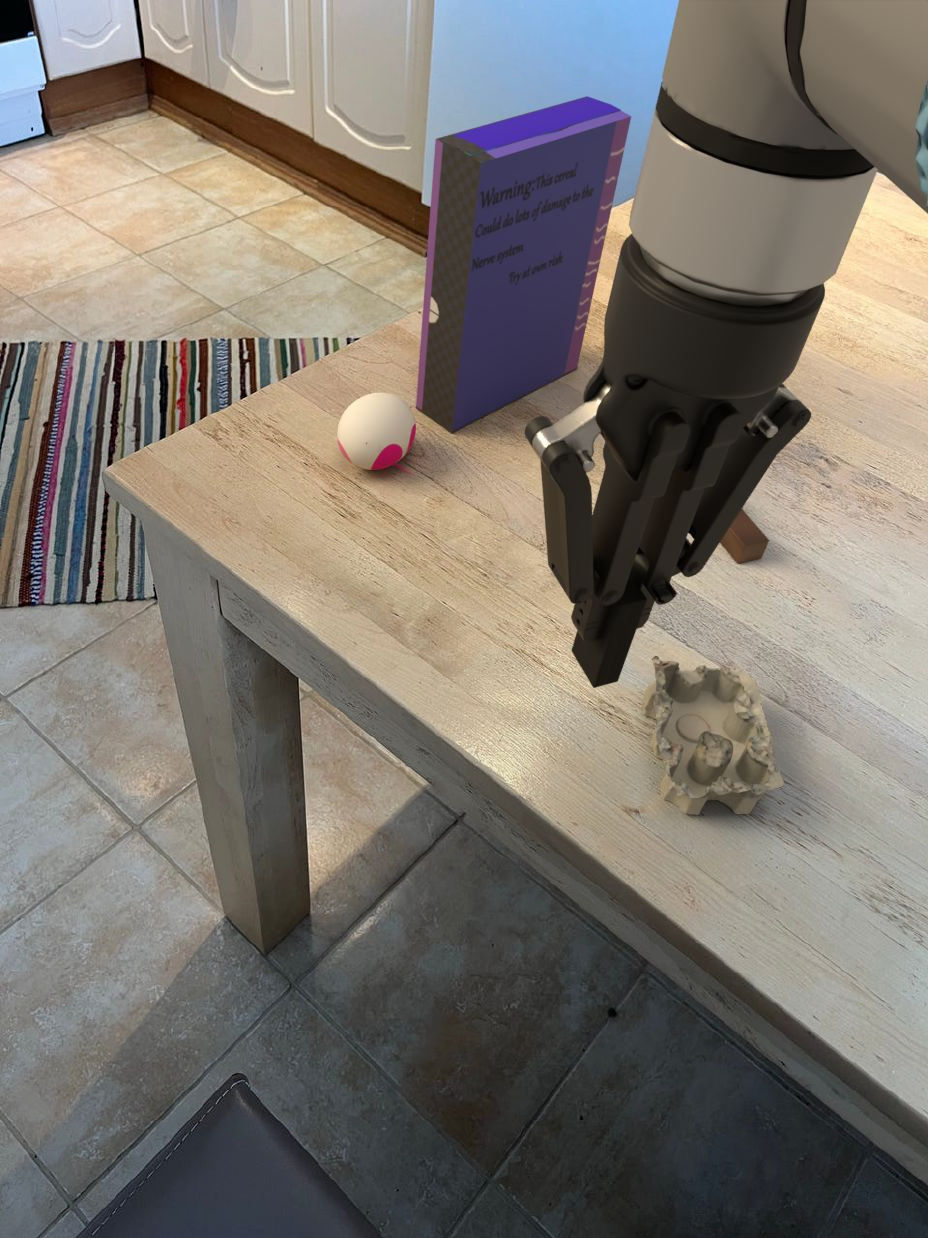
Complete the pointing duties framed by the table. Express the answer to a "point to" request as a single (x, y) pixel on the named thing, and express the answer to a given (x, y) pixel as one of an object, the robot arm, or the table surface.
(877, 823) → the table surface
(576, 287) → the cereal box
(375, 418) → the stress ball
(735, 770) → the egg carton
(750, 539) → the walnut stick
